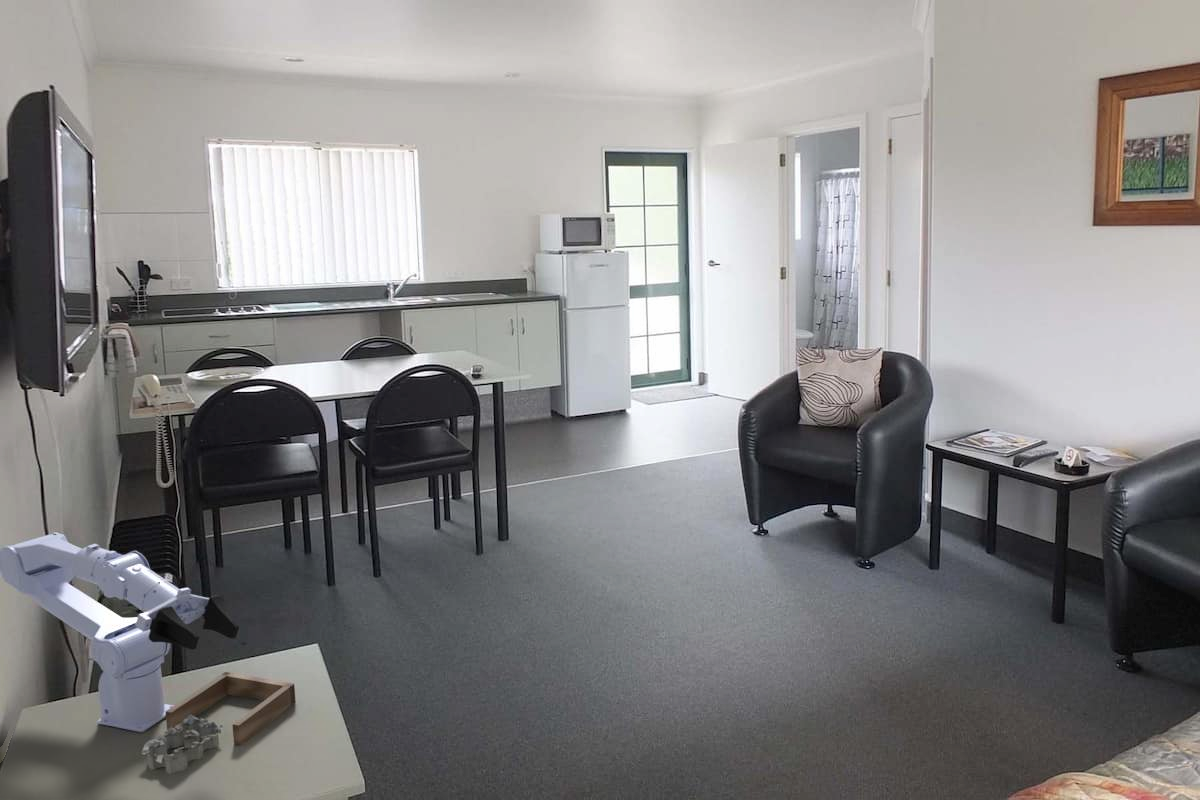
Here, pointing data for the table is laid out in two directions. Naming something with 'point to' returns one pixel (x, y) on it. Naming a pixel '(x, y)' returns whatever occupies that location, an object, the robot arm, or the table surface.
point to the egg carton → (175, 737)
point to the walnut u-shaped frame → (271, 691)
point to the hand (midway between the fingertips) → (216, 637)
